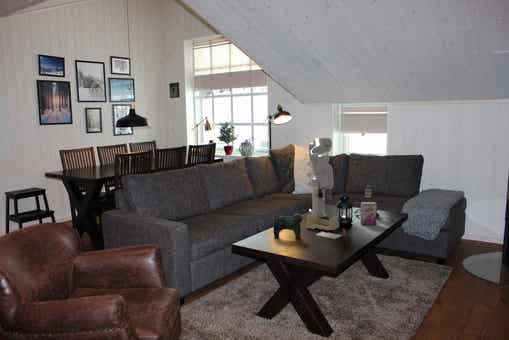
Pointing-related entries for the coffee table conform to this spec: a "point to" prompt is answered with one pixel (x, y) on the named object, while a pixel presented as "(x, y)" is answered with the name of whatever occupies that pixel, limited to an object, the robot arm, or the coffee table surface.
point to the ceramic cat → (288, 224)
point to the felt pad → (328, 235)
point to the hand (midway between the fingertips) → (322, 196)
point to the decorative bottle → (367, 197)
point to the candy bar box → (368, 213)
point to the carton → (321, 222)
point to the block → (326, 194)
